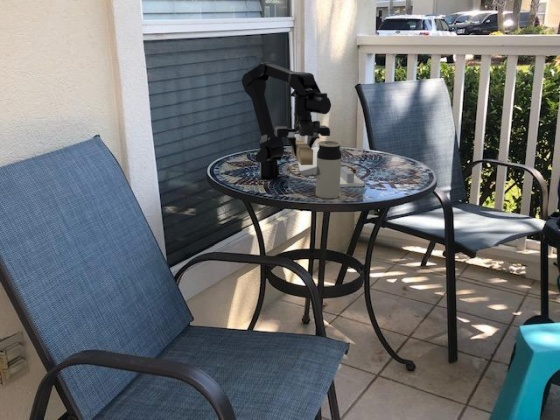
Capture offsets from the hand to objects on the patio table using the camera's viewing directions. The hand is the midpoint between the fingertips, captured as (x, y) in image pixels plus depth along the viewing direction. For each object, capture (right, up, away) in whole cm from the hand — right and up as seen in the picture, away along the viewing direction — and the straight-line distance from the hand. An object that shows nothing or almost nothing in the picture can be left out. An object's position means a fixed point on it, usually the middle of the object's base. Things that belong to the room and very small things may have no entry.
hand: (301, 155), depth 199 cm
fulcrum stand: (+17, -9, +9) cm, 21 cm away
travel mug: (+8, -14, -8) cm, 18 cm away
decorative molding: (+5, -1, +34) cm, 35 cm away
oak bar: (0, -1, 0) cm, 1 cm away
